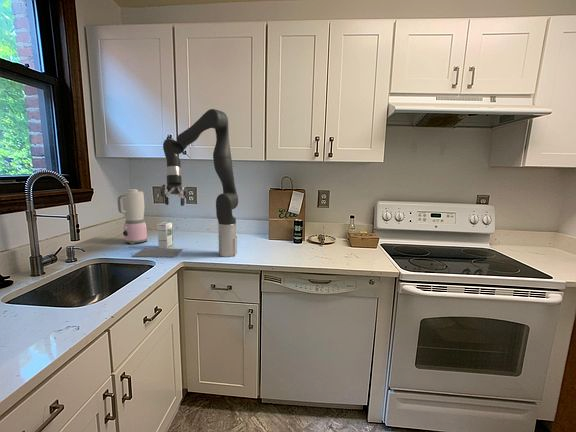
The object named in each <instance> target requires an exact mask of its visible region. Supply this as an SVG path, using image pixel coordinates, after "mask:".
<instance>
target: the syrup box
mask: <svg viewBox="0 0 576 432" xmlns="http://www.w3.org/2000/svg"><path fill="white" fill-rule="evenodd" d="M156 228H157V241H158V248H164V249H173V248H174V234H173V222H168V221H165V222H164V221H163V222H160V223H157V224H156Z"/></svg>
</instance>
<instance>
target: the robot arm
mask: <svg viewBox="0 0 576 432" xmlns="http://www.w3.org/2000/svg"><path fill="white" fill-rule="evenodd" d="M210 129H214V131H215V137H216V140H215V141H216V142H215V146H214V147H213V148H214V149H213V152H212V153H213V154H212V159H213V166H214V170H215V173H216V175H217V177H218V179H219V180H220V183H221V186H222V193H220V194H218V196H217V197H216V200H215V213H216V214H215V215H216V219H217V222H218V223H217V226H218V256H220V257H225V258H226V257H227V258H229V257H236V255H237V253H238V248H237V247H238V243H237V242H238V238H237V237H238V236H237V218H236V217H235V216H234V215H233V210H235V209H236V208H237V207H238V204H239V197H238V192H237V188H236V184H235V177H234V171H233V169H234V168H233V161H232V160H233V159H232V154H231V146H230V138H229V137H230V135H229V134H230V133H229V118H228V116H227V114H226V113H225V112H224V111H222V110H218V109H215V108H210V109H208V110H207V111H206V112H204V114H202V115H201V116H200V117H199V118H198V119H197V120H196V121H195V122H194V123H193V124H192V125H191V126H190V127H188V128H186V130H184V131H182V132H181V133H179V134H178V135H177V137H176V140H175V139H172V138H166V139H164V141H163V144H162V149H163V154H164V156H165V159H166V174H165V175H166V185H165V184H161V185H160V197H162V198H164V199H163V201H164V204H165V206H168V205H170V204H169V202H170V201H169V198H170V197H169V196H170V195H175V196H176V195H177V196H178V197H179V198H180V206H181V207H183V206H184V205H185V203H186V202H185V199H187V198H189V196H188V195H189V194H188V187H184V186H182V184H183V182H182V169H181V168H182V167H181V166H182V165H181V159H180V157H179V156H177V155H179V154H180V155H181V154H182V153H183V152H184V151H185V150H186V148H187V147H188V146H189V145H191V144H192V143H193V144H194V142H196V141H197V140H198V138H199V137H200V135H202V133H203V132H205V131H207V130H210ZM166 190H167V192H166Z"/></svg>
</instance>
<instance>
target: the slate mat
mask: <svg viewBox="0 0 576 432" xmlns="http://www.w3.org/2000/svg"><path fill="white" fill-rule="evenodd" d="M182 251H183V248H169V249H164V248H159V247H158V248H157V247H156V248H154V247H150V248H149V247H146V248H145V247H144V248H142V249H141V250H139V251H137V252H136V253H134V254H132V255H131V257H132V258H170V259H171V258H172V259H173V258H176V256H177V255H178V254H179V253H181V252H182Z"/></svg>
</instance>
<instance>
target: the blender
mask: <svg viewBox="0 0 576 432" xmlns="http://www.w3.org/2000/svg"><path fill="white" fill-rule="evenodd" d="M117 208H118V212H119V213H120V214H124V218H125V222H124V224H123V231H122V235H123V236H124V244H127V243H129V244H130V245H131V246H133V245H135V244H137V243H142V242H148V234H147V233H148V231H147V223H146V222H145V219H144V217H145V195H144V191H141V190H139V189H134V188H132V189H127V191H123V192H122V193H121V195H120V196H118V197H117Z"/></svg>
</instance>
